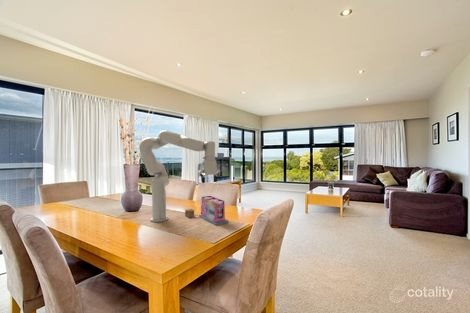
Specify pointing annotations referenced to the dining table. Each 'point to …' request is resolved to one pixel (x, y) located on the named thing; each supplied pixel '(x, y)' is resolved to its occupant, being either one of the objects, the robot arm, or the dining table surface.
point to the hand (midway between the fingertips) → (209, 182)
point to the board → (213, 221)
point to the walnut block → (189, 213)
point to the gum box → (213, 208)
